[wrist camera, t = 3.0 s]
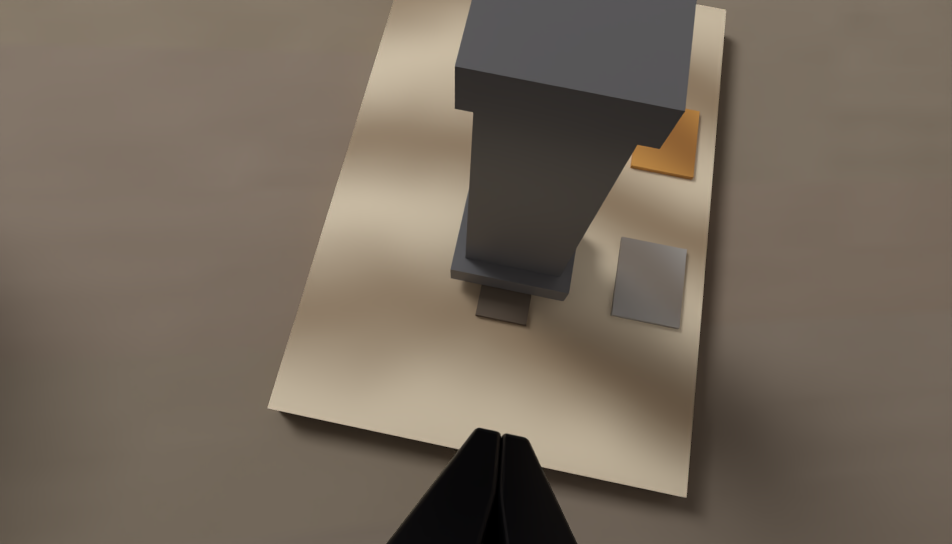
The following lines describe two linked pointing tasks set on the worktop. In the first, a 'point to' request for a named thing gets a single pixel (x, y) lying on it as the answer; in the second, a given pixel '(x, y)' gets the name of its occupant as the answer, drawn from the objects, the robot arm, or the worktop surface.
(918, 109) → the worktop surface
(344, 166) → the switch panel
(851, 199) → the worktop surface
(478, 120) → the dark grey tall block
